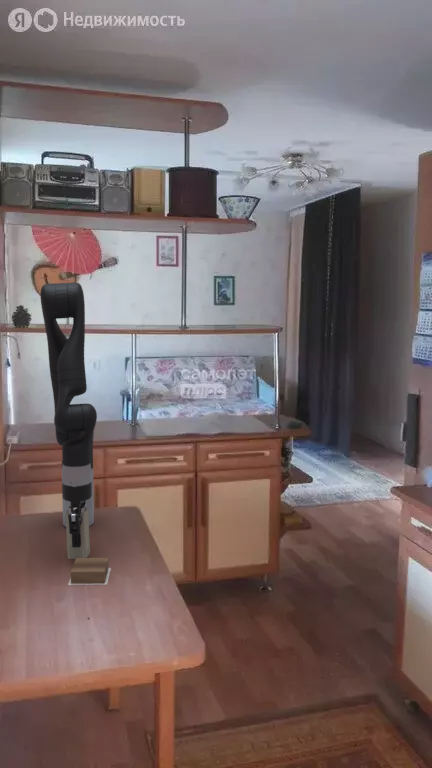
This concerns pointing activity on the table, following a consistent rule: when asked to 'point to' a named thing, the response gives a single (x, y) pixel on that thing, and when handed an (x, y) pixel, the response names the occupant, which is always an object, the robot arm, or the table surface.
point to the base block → (89, 570)
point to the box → (85, 543)
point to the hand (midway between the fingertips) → (78, 542)
